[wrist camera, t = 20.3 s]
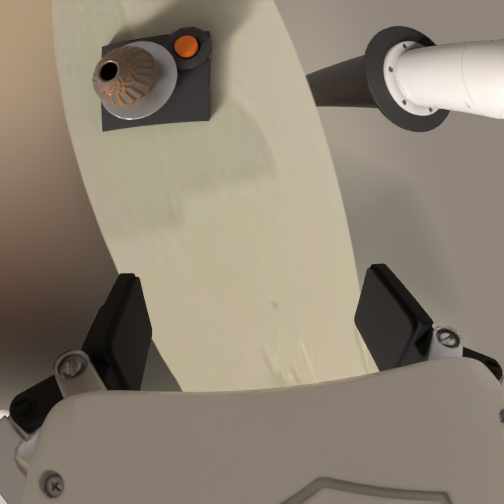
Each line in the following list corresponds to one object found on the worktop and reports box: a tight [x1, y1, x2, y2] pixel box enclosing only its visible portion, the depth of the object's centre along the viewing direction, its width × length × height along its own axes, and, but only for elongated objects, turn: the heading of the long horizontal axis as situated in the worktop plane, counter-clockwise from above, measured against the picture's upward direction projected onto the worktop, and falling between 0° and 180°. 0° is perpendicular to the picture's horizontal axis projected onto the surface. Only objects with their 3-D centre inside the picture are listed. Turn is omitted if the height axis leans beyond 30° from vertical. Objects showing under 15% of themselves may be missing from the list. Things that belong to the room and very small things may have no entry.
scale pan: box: [100, 41, 178, 119], centre depth 27 cm, size 10×10×1 cm
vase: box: [93, 46, 159, 107], centre depth 23 cm, size 7×7×9 cm
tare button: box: [174, 35, 198, 57], centre depth 25 cm, size 3×3×2 cm
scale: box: [101, 27, 211, 132], centre depth 28 cm, size 14×12×3 cm
